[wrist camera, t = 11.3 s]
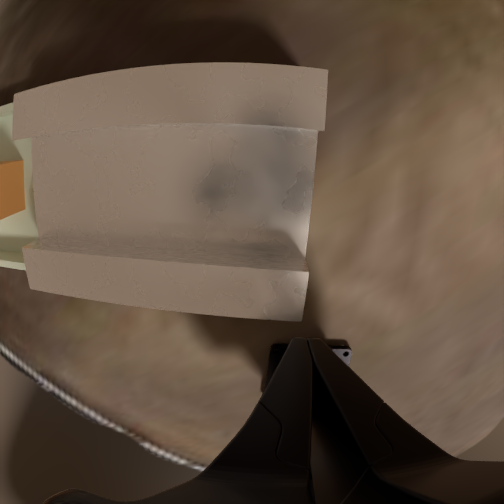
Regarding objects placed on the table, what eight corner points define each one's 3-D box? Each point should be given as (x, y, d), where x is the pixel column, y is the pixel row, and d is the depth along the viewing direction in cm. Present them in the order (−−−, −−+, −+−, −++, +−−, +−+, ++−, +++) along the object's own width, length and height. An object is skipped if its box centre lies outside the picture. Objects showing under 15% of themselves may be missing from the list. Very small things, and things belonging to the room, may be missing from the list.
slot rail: (295, 281, 21) (301, 321, 17) (66, 261, 22) (30, 288, 17) (313, 86, 17) (328, 69, 12) (58, 96, 17) (13, 94, 13)
